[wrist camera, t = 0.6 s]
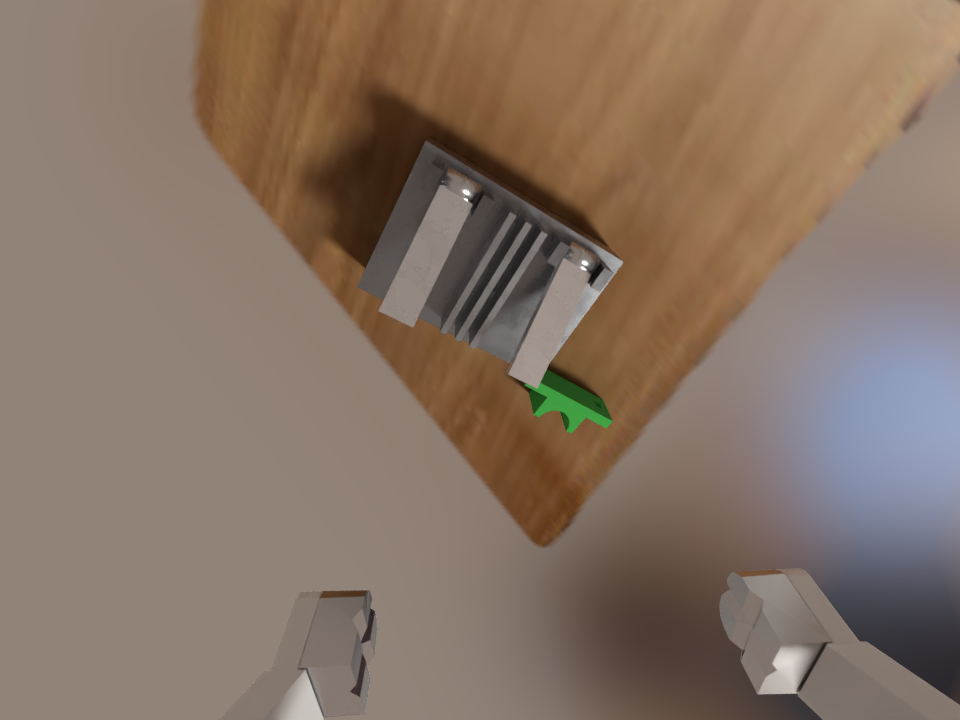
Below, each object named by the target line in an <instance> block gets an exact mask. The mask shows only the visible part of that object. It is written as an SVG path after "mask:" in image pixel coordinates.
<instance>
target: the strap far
mask: <svg viewBox="0 0 960 720" xmlns="http://www.w3.org/2000/svg"><path fill="white" fill-rule="evenodd" d="M568 245H569V246H570V249H569V250H568V252H567V253H566V255H565V256H564V258H563V259H562V261H561V262H560V264H559V265H558V267H555V268H554V270H553V272H552V275H551V277H550V279H549V281H548V283H547V285H546V287H545V289H544V291H543V293H542V296H541V298H540V300H539V302H538V304H537V306H536V308H535V310H534V312H533V315H532V317H531V319H530V321H529V323H528V325H527V327H526V329H525V331H524V333H523V336H522V338H521V340H520V342H519V344H518V346H517V348H516V350H515V352H514V355H513V357H512V359H511V361H510V363H509V365H508V367H507V369H506V371H505V373H506V374H508V375H510V376H512V377H514V378H516V379H518V380H520V381H522V382H524V383H526V384H528V385H530V386H532V387H534V388H537V389H538V387H539V384H540V382H541V380H542V378H543V376H544V374H545V372H546V370H547V367H548V365H549V363H550V361H551V359H552V357H553V355H554V353H555V350H556V348H557V346H558V344H559V342H560V340H561V338H562V336H563V334H564V331H565V329H566V327H567V325H568V323H569V321H570V319H571V317H572V314H573V312H574V310H575V308H576V306H577V304H578V302H579V300H580V297H581V295H582V293H583V291H584V289H585V287H586V285H587V283H588V280H589V278H590V276H591V274H592V273H594V272H595V270H596V269H597V267H598V266H599V263H600V257H598V256H597V255H595V254H593V253H592V252H590V251H589V250H587V249H585V248H584V247H582V246H580V245H579V244H577V243H575V242H574V241H572V240H570V241H569V242H568Z"/></svg>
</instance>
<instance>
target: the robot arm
mask: <svg viewBox="0 0 960 720" xmlns="http://www.w3.org/2000/svg"><path fill="white" fill-rule="evenodd" d="M727 583H728V585H729V587H730V589H729V590H728V591H727V592H725V593H724V594H723V595H722V598H721V601H720V614H721V619H722V622H723V625H724V628H725V630H726V632H727V634H728V637H729V638H730V640H731V641H732V642H733V643H735V644H736V645H737V646H738V647H740V648H741V649H742V655H741V662H742V664H743V666H744V668H745V670H746V672H747V674H748V676H749V678H750V680H751V682H752V684H753V686H754V688H755V690H756V692H757V694H784V693H785V694H788V693H799V694H798V696H799V697H800V698H801V699H802V700H803V701H804V702H805V703H806V704H807V705H808V706H809V707H810V708H811V709H812V710H813V711H814V712H816V714H817V715H819V716H820V717H821V718H822V719H823V720H960V705H959V704H957V703H956V702H954V701H953V700H951V699H950V698H948V697H947V696H945V695H944V694H942V693H941V692H939V691H938V690H937V689H935V688H934V687H932V686H931V685H929V684H928V683H926V682H925V681H923V680H922V679H920V678H919V677H918V676H916V675H914V674H913V673H912V672H910V671H909V670H907V669H906V668H904V667H903V666H901V665H900V664H898V663H897V662H895V661H894V660H892V659H891V658H890V657H888V656H887V655H885V654H884V653H882V652H881V651H879V650H878V649H876V648H875V647H874V646H872V645H870V644H869V643H868V642H859V641H858V639H857V638H856V636H855V635H854V634H853V633H852V631H851V630H850V629H849V627H848V626H847V625H846V623H845V622H844V621H843V619H842V618H841V617H840V615H839V614H838V613H837V611H836V610H835V609H834V607H833V606H832V605H831V604H830V602H829V601H828V599H827V598H826V597H825V595H824V594H823V593H822V592H821V590H820V589H819V587H818V586H817V585H816V583H815V582H814V581H813V579H812V578H811V577H810V576H809V574H808V573H807V572H805V571H804V570H802V569H783V570H776V569H771V570H756V571H742V572H733V573H732V574H730V575H729V577H728V580H727ZM371 603H372V596H371V592H370V590H345V591H312V592H301V593H300V594H299V596H298V597H297V599H296V600H295V603H294V606H293V609H292V612H291V615H290V618H289V620H288V623H287V627H286V630H285V632H284V635H283V638H282V641H281V644H280V647H279V650H278V653H277V656H276V658H275V661H274V664H273V667H272V670H271V671H265V672H263V673H262V674H261V675H260V676H259V677H258V678H257V680H256V681H255V682H254V683H253V684H252V685H251V686H250V687H249V688H248V689H247V690H246V692H244V694H243V695H242V696H241V697H240V698H239V699H238V700H237V701H236V702H235V703H234V704H233V705H232V706H231V707H230V709H228V711H227V712H226V713H225V714H224V715H223V716H222V717H221V718H220V719H219V720H324V718H323V717H334V716H347V715H360V714H365V708H366V702H367V697H368V691H369V685H370V675H369V671H368V667H367V665H368V664H369V663H370V661H371V660H372V659H373V658H374V655H375V647H376V637H377V619H376V614H375V611H374V610H372V609H371Z"/></svg>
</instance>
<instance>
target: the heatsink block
mask: <svg viewBox="0 0 960 720" xmlns="http://www.w3.org/2000/svg"><path fill="white" fill-rule="evenodd" d="M449 166H450V167H452V168H453V169H455V170H457V171H458V172H460V173H461V174H463V175H465V176H466V177H468V178H470V179H471V180H473V181H475V182H476V183H478V184H480V185H481V186H482V188H481V191H480V193H479V195H478V197H477V199H476V200H475V202H474V204H473V205H472V207H471V209H470V211H469V214H468V216H467V218H466V220H465V222H464V224H463V226H462V228H461V230H460V232H459V234H458V236H457V238H456V240H455V242H454V244H453V246H452V249H451V251H450V253H449V255H448V257H447V259H446V261H445V263H444V265H443V267H442V269H441V271H440V273H439V275H438V277H437V279H436V281H435V284H434V286H433V288H432V290H431V292H430V294H429V296H428V298H427V300H426V302H425V304H424V306H423V308H422V310H421V312H420V314H419V316H418V318H420V319H422V320H424V321H426V322H428V323H430V324H432V325H434V326H436V327H438V328H440V332H441V333H443V334H445V335H446V334H447V332H448V333H450V334H452V335H454V336H455V340H457V341H459V342H461V340H464V341H466V342H468V343H469V347H471V348H473V349H475V348H476V347H478V348H480V349H482V350H484V351H486V352H488V353H490V354H492V355H494V356H496V357H498V358H500V359H502V360H504V361H506V362H508V363H510V361H511V359H512V357H513V355H514V352H515V350H516V348H517V346H518V344H519V342H520V340H521V338H522V336H523V333H524V331H525V329H526V327H527V325H528V323H529V321H530V319H531V317H532V315H533V312H534V310H535V308H536V306H537V304H538V302H539V300H540V298H541V296H542V293H543V291H544V289H545V287H546V285H547V283H548V281H549V279H550V277H551V275H552V272H553V270H554V268H555V267H558V265H559V264H560V262H561V261H562V259H563V258H564V256H565V255H566V253H567V252H568V250H569V249H570V246H569V245H568V242H569V241H570V240H572V241H574V242H575V243H577V244H579V245H580V246H582V247H584V248H585V249H587V250H589V251H590V252H592V253H593V254H595V255H597V256H598V257H600V263H599V266H598V267H597V269H596V270H595V272H594V273H592V274H591V276H590V278H589V280H588V283H587V285H586V287H585V289H584V291H583V293H582V295H581V297H580V300H579V302H578V304H577V306H576V308H575V310H574V312H573V314H572V317H571V319H570V321H569V323H568V325H567V327H566V329H565V331H564V334H563V336H562V338H561V340H560V342H559V344H558V346H557V348H556V350H555V353H554V355H553V357H554V356H555V355H556V353H557V352H558V351H559V349H560V348H561V347H562V345H563V344H564V342H565V341H566V340H567V338H568V337H569V336H570V334H571V333H572V332H573V330H574V329H575V328H576V326H577V325H578V323H579V322H580V321H581V319H582V318H583V317H584V315H585V314H586V313H587V311H588V310H589V308H590V307H591V306H592V304H593V303H594V302H595V300H596V299H597V298H598V296H599V295H600V293H601V292H602V291H603V289H604V288H605V287H606V285H607V284H608V283H609V281H610V280H611V279H612V277H613V276H614V274H615V273H616V272H617V270H618V269H619V268H620V266H621V265H622V264H623V261H622V260H621V259H620V258H619V257H618V256H617V255H616V254H615V253H614V252H613V251H612V250H611V249H610V248H609V247H608V246H606V245H605V244H603V243H601V242H600V241H598V240H597V239H595V238H593V237H592V236H590V235H588V234H587V233H585V232H584V231H582V230H580V229H579V228H577V227H576V226H574V225H572V224H571V223H569V222H567V221H566V220H564V219H563V218H561V217H559V216H558V215H556V214H554V213H553V212H551V211H550V210H548V209H546V208H545V207H543V206H542V205H540V204H538V203H537V202H535V201H533V200H532V199H530V198H529V197H527V196H525V195H524V194H522V193H520V192H519V191H517V190H516V189H514V188H512V187H511V186H509V185H507V184H506V183H504V182H503V181H501V180H499V179H498V178H496V177H495V176H493V175H491V174H490V173H488V172H486V171H485V170H483V169H482V168H480V167H478V166H477V165H475V164H473V163H472V162H470V161H469V160H467V159H465V158H464V157H462V156H460V155H459V154H457V153H456V152H454V151H452V150H451V149H449V148H448V147H446V146H444V145H443V144H441V143H439V142H438V141H436V140H435V139H433V138H431V137H429V138H428V139H427V140H426V141H425V143H424V145H423V147H422V149H421V152H420V154H419V156H418V158H417V160H416V162H415V164H414V166H413V169H412V171H411V173H410V175H409V177H408V179H407V181H406V183H405V186H404V188H403V190H402V192H401V194H400V196H399V198H398V200H397V203H396V205H395V207H394V209H393V211H392V213H391V215H390V218H389V220H388V222H387V224H386V226H385V228H384V230H383V232H382V235H381V237H380V239H379V241H378V243H377V245H376V247H375V249H374V252H373V254H372V256H371V258H370V260H369V262H368V264H367V266H366V269H365V271H364V273H363V275H362V277H361V279H360V281H359V283H358V286H357V287H358V288H360V289H362V290H364V291H366V292H368V293H370V294H372V295H374V296H376V297H378V298H380V299H382V300H384V298H385V296H386V294H387V292H388V290H389V288H390V286H391V284H392V282H393V280H394V278H395V275H396V273H397V271H398V269H399V267H400V265H401V263H402V261H403V259H404V257H405V255H406V253H407V251H408V249H409V247H410V245H411V243H412V241H413V239H414V237H415V235H416V233H417V231H418V229H419V227H420V224H421V222H422V220H423V218H424V216H425V214H426V212H427V210H428V208H429V206H430V204H431V202H432V200H433V198H434V196H435V194H436V192H437V190H438V188H439V186H440V184H441V181H442V179H443V177H444V175H445V173H446V171H447V170H448V168H449ZM553 357H552V359H553ZM552 359H551V360H552ZM550 362H551V361H550Z"/></svg>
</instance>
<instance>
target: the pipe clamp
mask: <svg viewBox="0 0 960 720" xmlns="http://www.w3.org/2000/svg"><path fill="white" fill-rule="evenodd" d="M524 384H525V386H527V387H529V388H531V389H532V390H531V391H530V392H529V395H530V400H531V404H532V409H533V413H534V415H536V416H538V417H540V416H541V415H542V414H544V413H545V412H548V411H552V410H557V411H560V413H561V416H562V419H563V422H564V425H565V429H566V431H567V432H569V433H572V432H573V431H574V430H575V429H576V428H577V427H578V425H579V424H580V423H581V422H582V421H583V420H584V419H585V417H586V418H588V419H590V420H592V421H594V422H596V423H597V424H599V425H601V426H603V427H605V428H607V427H608V426H609V425H610V424H611V423H612V422H613V421H612V418H611V416H610V414H609V412H608V410H607V408H606V406H605V403H604V401H603V400H602V399H601V398H599V397H597V396H595V395H593V394H591V393H590V392H588V391H586V390H584V389H582V388H580V387H579V386H577V385H575V384H573V383H571V382H569V381H568V380H566V379H564V378H562V377H560V376H558V375H557V374H555V373H553V372H551V371H549V370H546V372H545V374H544V376H543V378H542V380H541V382H540V384H539V387H538V389H537V388H534V387H532V386H530V385H528V384H526V383H524Z"/></svg>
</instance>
